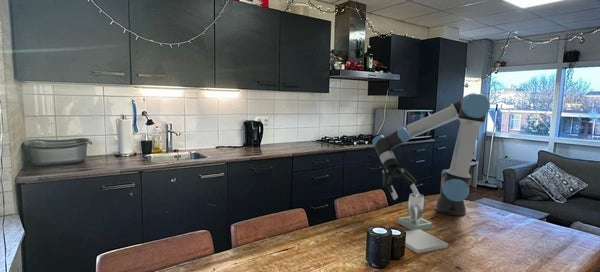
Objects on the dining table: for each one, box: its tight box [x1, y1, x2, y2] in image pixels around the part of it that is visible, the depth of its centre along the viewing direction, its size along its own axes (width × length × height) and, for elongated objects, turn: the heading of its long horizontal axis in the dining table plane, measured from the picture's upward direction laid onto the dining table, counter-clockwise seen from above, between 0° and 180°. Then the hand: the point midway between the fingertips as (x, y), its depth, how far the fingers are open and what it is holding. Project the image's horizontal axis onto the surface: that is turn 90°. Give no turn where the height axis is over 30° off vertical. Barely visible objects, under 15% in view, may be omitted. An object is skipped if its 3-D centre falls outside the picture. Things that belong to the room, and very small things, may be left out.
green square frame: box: [397, 216, 433, 231], centre depth 152 cm, size 11×11×2 cm
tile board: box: [405, 229, 449, 254], centre depth 134 cm, size 16×16×2 cm
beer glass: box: [408, 192, 425, 225], centre depth 152 cm, size 7×7×15 cm
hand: (407, 197), depth 156 cm, fingers open, 13 cm apart
